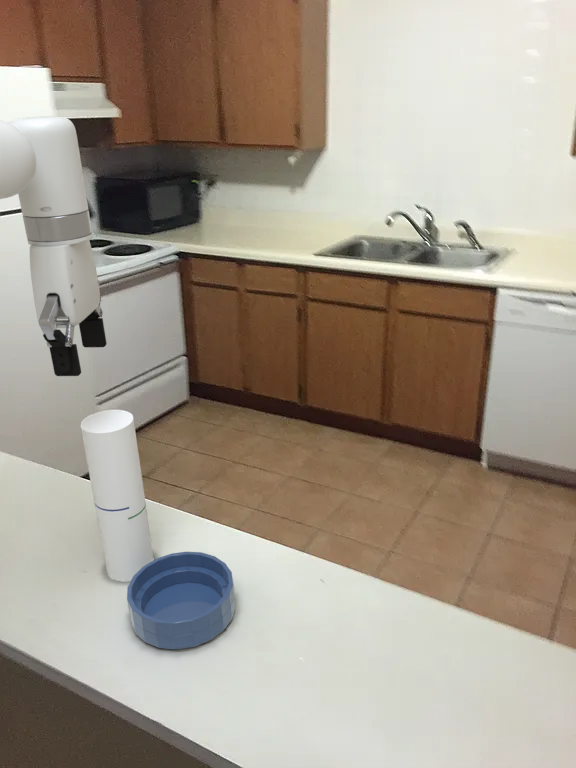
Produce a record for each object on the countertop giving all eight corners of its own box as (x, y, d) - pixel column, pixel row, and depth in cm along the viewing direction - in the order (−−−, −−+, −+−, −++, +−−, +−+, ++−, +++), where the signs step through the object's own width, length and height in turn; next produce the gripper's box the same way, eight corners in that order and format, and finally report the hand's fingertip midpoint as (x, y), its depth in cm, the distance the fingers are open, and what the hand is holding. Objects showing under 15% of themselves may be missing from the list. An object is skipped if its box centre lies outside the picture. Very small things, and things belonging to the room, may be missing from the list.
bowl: (116, 648, 87) (111, 618, 85) (151, 576, 100) (147, 548, 98) (222, 656, 85) (219, 626, 83) (243, 582, 98) (241, 554, 96)
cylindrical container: (104, 558, 104) (78, 415, 94) (149, 546, 107) (129, 406, 97) (109, 587, 98) (82, 437, 88) (158, 574, 100) (137, 426, 90)
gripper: (56, 215, 88) (78, 337, 95) (-6, 244, 72) (26, 388, 79) (111, 213, 87) (129, 336, 94) (61, 242, 72) (87, 387, 79)
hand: (82, 360), depth 87 cm, fingers open, 9 cm apart
